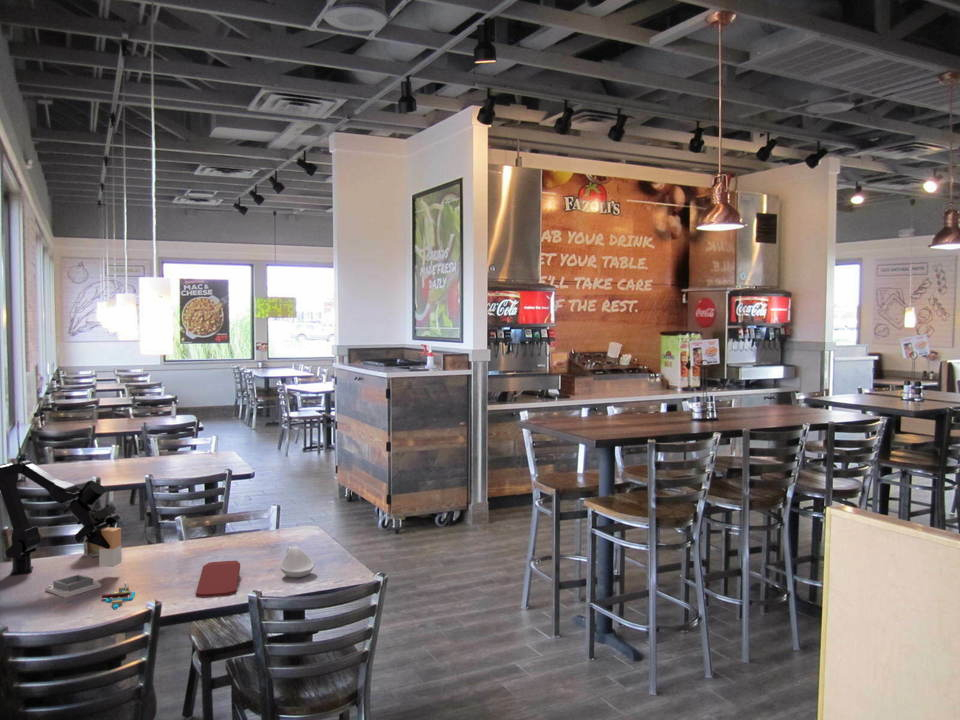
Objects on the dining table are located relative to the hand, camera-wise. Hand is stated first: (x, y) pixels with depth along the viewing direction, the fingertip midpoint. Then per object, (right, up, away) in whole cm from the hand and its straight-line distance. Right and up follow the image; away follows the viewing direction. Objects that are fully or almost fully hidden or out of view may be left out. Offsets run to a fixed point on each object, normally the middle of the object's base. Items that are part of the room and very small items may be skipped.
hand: (114, 545), depth 259 cm
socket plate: (-7, -11, -13) cm, 18 cm away
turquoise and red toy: (+12, -12, -21) cm, 27 cm away
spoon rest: (+62, -11, +7) cm, 63 cm away
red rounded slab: (+40, -12, -7) cm, 42 cm away
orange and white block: (-1, -7, 0) cm, 7 cm away
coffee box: (-19, -10, +26) cm, 34 cm away
